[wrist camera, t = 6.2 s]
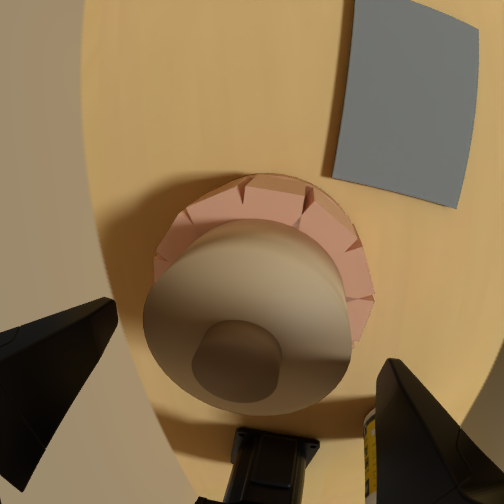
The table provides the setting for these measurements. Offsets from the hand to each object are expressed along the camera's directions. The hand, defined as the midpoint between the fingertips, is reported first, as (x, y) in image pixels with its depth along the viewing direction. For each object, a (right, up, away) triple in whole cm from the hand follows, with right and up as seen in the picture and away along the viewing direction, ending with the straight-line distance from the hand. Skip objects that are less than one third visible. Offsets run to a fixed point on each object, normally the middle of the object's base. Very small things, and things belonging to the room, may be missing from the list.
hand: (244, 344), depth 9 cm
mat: (+7, +10, +1) cm, 12 cm away
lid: (0, +1, +2) cm, 2 cm away
